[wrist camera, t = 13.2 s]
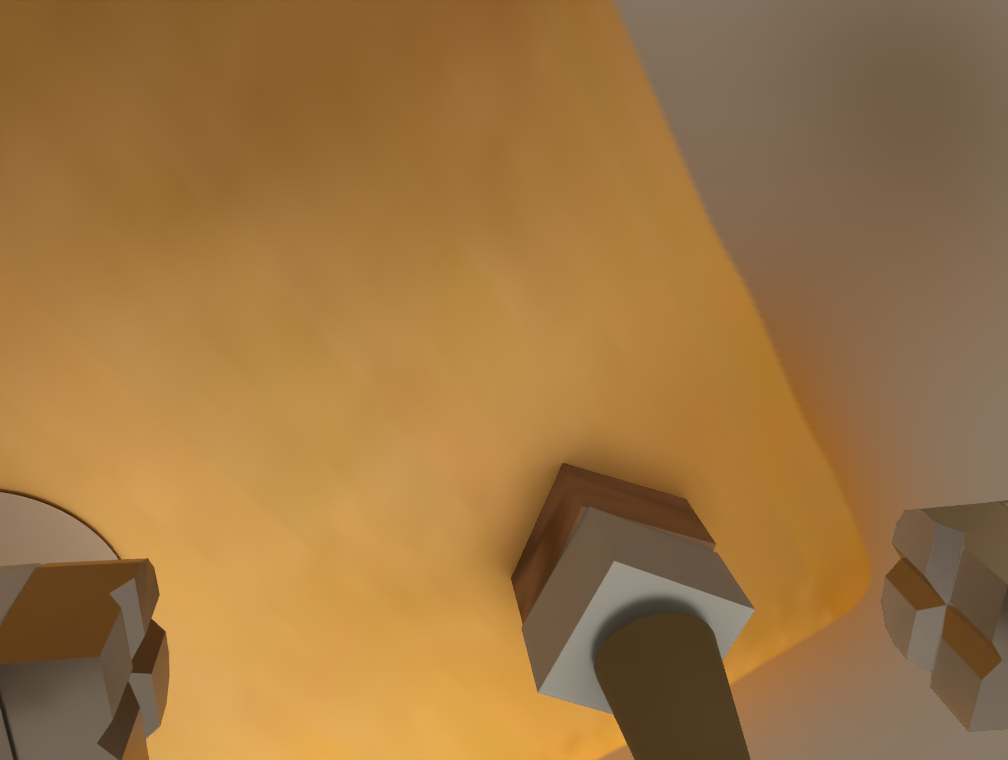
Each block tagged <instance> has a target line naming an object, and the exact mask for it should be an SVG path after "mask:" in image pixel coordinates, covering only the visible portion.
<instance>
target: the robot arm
mask: <svg viewBox="0 0 1008 760" xmlns="http://www.w3.org/2000/svg"><path fill="white" fill-rule="evenodd" d="M892 544H893V546H894V547H895V549H896V551H897V552H898V554H899V556H900V558H901V559H900V560H899V562H898V563H897V564H896V565H895V566H894V567H893V569H891V570H890V571H889V573H888V574H887V575H886V576H885V580H884V586H883V593H882V599H881V605H882V610H883V616H884V622H885V627H886V629H887V631H888V633H889V635H890V637H891V639H892V641H893V643H894V644H895V646H896V647H897V648H898V649H899V651H900V652H901V653H902V654H903V656H904V657H905V658H906V659H907V660H910V661H911V662H913V663H915V664H917V665H919V666H921V667H923V668H925V669H927V670H929V671H931V682H930V688H931V689H932V690H933V691H934V692H935V693H936V695H937V696H938V697H939V698H940V699H941V700H942V702H943V703H944V704H945V705H946V706H947V707H948V709H949V710H950V711H951V712H952V713H953V714H954V716H955V717H956V718H957V719H958V720H959V721H960V723H961V724H962V725H963V726H964V727H965V728H966V730H967V731H968V732H974V731H987V730H1002V729H1008V500H1004V501H995V502H988V503H978V504H967V505H956V506H946V507H936V508H924V509H914V510H905V511H904V512H903V513H902V515H901V517H900V518H899V520H898V521H897V523H896V527H895V531H894V536H893V540H892ZM159 595H160V594H159V589H158V584H157V579H156V574H155V569H154V566H153V565H152V564H151V562H150V561H149V559H148V558H146V559H124V560H118V558H117V557H116V555H115V554H114V553H113V551H112V550H111V549H110V548H109V547H108V545H107V544H106V543H105V542H104V541H103V540H102V539H101V538H100V537H99V536H98V535H96V534H95V533H94V532H93V531H92V530H91V529H89V528H88V527H87V526H85V525H84V524H83V523H81V522H80V521H78V520H76V519H75V518H73V517H72V516H70V515H68V514H66V513H65V512H63V511H61V510H58V509H56V508H54V507H52V506H50V505H47V504H45V503H42V502H39V501H36V500H33V499H30V498H26V497H23V496H18V495H14V494H9V493H2V492H0V760H149V757H148V751H147V745H146V738H147V737H148V736H149V735H151V734H152V733H153V732H154V731H155V730H156V729H158V728H159V727H160V725H161V721H162V718H163V714H164V710H165V707H166V702H167V693H168V684H169V652H168V645H167V638H166V632H165V631H164V630H163V629H162V628H161V627H160V626H159V625H158V624H157V623H156V622H154V621H153V620H152V619H151V617H152V615H153V612H154V609H155V606H156V604H157V601H158V598H159Z"/></svg>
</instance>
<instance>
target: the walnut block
mask: <svg viewBox="0 0 1008 760" xmlns="http://www.w3.org/2000/svg"><path fill="white" fill-rule="evenodd" d="M589 507H592V508H595V509H598V510H600V511H603V512H606V513H609V514H611V515H614V516H617V517H620V518H622V519H625V520H628V521H631V522H633V523H636V524H639V525H642V526H644V527H647V528H650V529H653V530H655V531H658V532H661V533H664V534H666V535H669V536H672V537H675V538H678V539H680V540H683V541H686V542H689V543H691V544H694V545H697V546H700V547H702V548H705V549H708V550H711V551H713V549H714V548H715V546H716V543H715V542H714V540H713V539H712V537H711V536H710V534H709V533H708V531H707V530H706V528H705V527H704V525H703V524H702V522H701V521H700V519H699V518H698V516H697V515H696V513H695V512H694V510H693V509H692V507H691V506H690V504H689V503H688V501H687V500H686V499H683V498H680V497H676V496H673V495H669V494H666V493H663V492H659V491H656V490H653V489H649V488H646V487H642V486H639V485H636V484H632V483H629V482H625V481H622V480H619V479H615V478H612V477H608V476H605V475H602V474H598V473H595V472H592V471H588V470H585V469H581V468H578V467H575V466H571V465H568V464H564V463H563V464H562V466H561V469H560V471H559V473H558V475H557V478H556V480H555V482H554V484H553V486H552V489H551V491H550V493H549V495H548V498H547V500H546V502H545V504H544V507H543V509H542V511H541V513H540V515H539V518H538V520H537V522H536V524H535V527H534V529H533V531H532V533H531V536H530V538H529V540H528V542H527V544H526V547H525V549H524V551H523V553H522V556H521V558H520V560H519V562H518V564H517V567H516V569H515V571H514V573H513V576H512V578H511V580H512V584H513V588H514V592H515V596H516V600H517V604H518V607H519V611H520V615H521V619H522V623H523V624H524V622H525V621H526V619H527V617H528V615H529V613H530V612H531V610H532V608H533V606H534V604H535V603H536V601H537V599H538V597H539V596H540V594H541V592H542V590H543V588H544V587H545V585H546V583H547V581H548V579H549V578H550V576H551V574H552V572H553V570H554V569H555V567H556V565H557V563H558V561H559V560H560V558H561V556H562V554H563V553H564V551H565V549H566V547H567V545H568V544H569V542H570V540H571V538H572V536H573V535H574V533H575V531H576V529H577V527H578V526H579V524H580V522H581V520H582V518H583V517H584V515H585V513H586V511H587V509H588V508H589Z"/></svg>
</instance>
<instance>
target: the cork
mask: <svg viewBox="0 0 1008 760" xmlns="http://www.w3.org/2000/svg"><path fill="white" fill-rule="evenodd" d="M594 671H595V674H596V678H597V680H598V683H599V685H600V687H601V689H602V691H603V693H604V695H605V697H606V700H607V702H608V704H609V706H610V708H611V710H612V712H613V714H614V717H615V719H616V721H617V723H618V725H619V727H620V729H621V731H622V734H623V736H624V738H625V740H626V742H627V744H628V746H629V748H630V751H631V753H632V755H633V757H634V759H635V760H750V756H749V753H748V750H747V746H746V743H745V739H744V735H743V732H742V729H741V725H740V721H739V718H738V714H737V711H736V707H735V704H734V701H733V697H732V693H731V690H730V686H729V683H728V679H727V676H726V672H725V669H724V665H723V662H722V658H721V655H720V651H719V648H718V644H717V641H716V637H715V634H714V631H713V630H712V629H711V628H710V626H709V625H708V624H707V622H705V621H703V620H701V619H699V618H697V617H696V616H694V615H688V614H682V613H664V614H655V615H652V616H648V617H645V618H642V619H638V620H636V621H634V622H632V623H630V624H628V625H626V626H624V627H623V628H621V629H619V630H618V631H617V632H615V633H614V634H613V635H612V636H611V637H610V638H608V639H607V640H606V641H605V642H604V644H603V645H602V647H601V648H600V650H599V651H598V653H597V654H596V658H595V663H594Z"/></svg>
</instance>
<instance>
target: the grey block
mask: <svg viewBox="0 0 1008 760" xmlns="http://www.w3.org/2000/svg"><path fill="white" fill-rule="evenodd" d="M754 611H755V609H754V607H753V606H752V604H751V603H750V601H749V600H748V598H747V597H746V595H745V594H744V592H743V591H742V589H741V588H740V586H739V585H738V583H737V582H736V580H735V578H734V577H733V575H732V574H731V572H730V571H729V569H728V568H727V566H726V565H725V563H724V562H723V560H722V559H721V557H720V556H719V554H718V553H716V552H713V551H711V550H708V549H705V548H702V547H700V546H697V545H694V544H691V543H689V542H686V541H683V540H680V539H678V538H675V537H672V536H669V535H666V534H664V533H661V532H658V531H655V530H653V529H650V528H647V527H644V526H642V525H639V524H636V523H633V522H631V521H628V520H625V519H622V518H620V517H617V516H614V515H611V514H609V513H606V512H603V511H600V510H598V509H595V508H592V507H589V508H588V509H587V511H586V513H585V515H584V517H583V518H582V520H581V522H580V524H579V526H578V527H577V529H576V531H575V533H574V535H573V536H572V538H571V540H570V542H569V544H568V545H567V547H566V549H565V551H564V553H563V554H562V556H561V558H560V560H559V561H558V563H557V565H556V567H555V569H554V570H553V572H552V574H551V576H550V578H549V579H548V581H547V583H546V585H545V587H544V588H543V590H542V592H541V594H540V596H539V597H538V599H537V601H536V603H535V604H534V606H533V608H532V610H531V612H530V613H529V615H528V617H527V619H526V621H525V622H524V624H523V626H522V632H523V636H524V640H525V644H526V648H527V652H528V656H529V660H530V664H531V668H532V672H533V676H534V679H535V683H536V687H537V691H538V693H540V694H544V695H547V696H551V697H554V698H558V699H561V700H565V701H568V702H572V703H575V704H579V705H582V706H586V707H589V708H593V709H596V710H599V711H603V712H606V713H610V714H613V712H612V710H611V708H610V706H609V704H608V702H607V700H606V697H605V695H604V693H603V691H602V689H601V687H600V685H599V683H598V680H597V678H596V674H595V671H594V663H595V658H596V654H597V653H598V651H599V650H600V648H601V647H602V645H603V644H604V642H605V641H606V640H607V639H608V638H610V637H611V636H612V635H613V634H614V633H615V632H617V631H618V630H619V629H621V628H623V627H624V626H626V625H628V624H630V623H632V622H634V621H636V620H638V619H642V618H645V617H648V616H652V615H655V614H664V613H682V614H688V615H694V616H696V617H697V618H699V619H701V620H703V621H705V622H707V624H708V625H709V626H710V628H711V629H712V630H713V631H714V634H715V637H716V641H717V644H718V648H719V651H720V655H721V658H722V660H723V659H724V657H725V656H726V654H727V652H728V651H729V649H730V648H731V646H732V645H733V643H734V642H735V640H736V639H737V637H738V635H739V634H740V632H741V631H742V629H743V628H744V626H745V625H746V623H747V622H748V620H749V618H750V617H751V615H752V614H753V612H754ZM613 715H614V714H613Z"/></svg>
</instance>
